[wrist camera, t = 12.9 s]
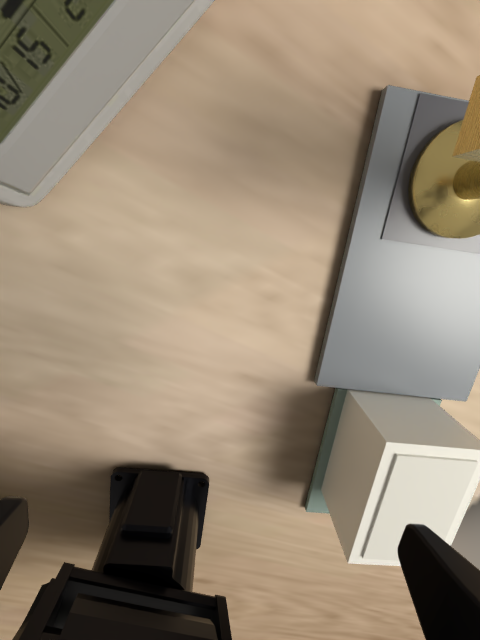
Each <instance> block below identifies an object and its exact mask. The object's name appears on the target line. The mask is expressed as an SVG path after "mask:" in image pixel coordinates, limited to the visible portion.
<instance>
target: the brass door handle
mask: <svg viewBox="0 0 480 640" xmlns="http://www.w3.org/2000/svg"><path fill="white" fill-rule="evenodd" d="M408 196H409V203H410V207H411V210H412V212H413V215H414V217H415V218H416V220H417V221H418V223H419V224H420V225H421V226H422V227H423V228H424V229H425V230H427V231H428V232H430V233H432V234H434V235H436V236H439V237H444V238H456V239H460V238H469V237H473V236H476V235H479V234H480V75H479V76H477V78H476V81H475V84H474V87H473V90H472V94H471V97H470V100H469V103H468V107H467V110H466V113H465V116H464V120H461V121H459V122H457V123H454V124H452V125H450V126H448V127H446V128H444V129H443V130H441V131H440V132H438V133H437V134H436V135H435V136H434V137H432V138H431V140H430V141H429V142H428V143H427V144H426V145H425V146H424V148H423V149H422V150H421V152H420V154H419V155H418V157H417V159H416V161H415V163H414V165H413V168H412V171H411V175H410V179H409V187H408Z"/></svg>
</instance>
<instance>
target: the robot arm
mask: <svg viewBox="0 0 480 640" xmlns="http://www.w3.org/2000/svg"><path fill="white" fill-rule="evenodd" d="M118 475H121V477H120V476H118ZM201 481H203V482H204V483H201ZM208 488H209V477H208V476H207V475H205V474H198V473H185V472H172V471H160V470H147V469H134V468H121V467H120V468H116V469H115V470H114V471H113V473H112V475H111V487H110V522H109V526H108V529H107V531H106V534H105V536H104V539H103V542H102V544H101V547H100V549H99V552H98V555H97V557H96V560H95V562H94V565H93V568H92V570H87V569H82V568H78V567H74V566H75V564H70V563H65V562H64V564H63V566H62V567H61V569H60V571H59V573H58V575H57V577H56V579H54V578H52V579H51V581H50V582H49V583H47V584H44V585H42V587H41V589H40V591H39V593H38V595H37V597H36V599H35V600H34V602H33V604H32V606H31V608H30V610H29V612H28V614H27V616H26V618H25V620H24V622H23V623H22V625H21V627H20V629H19V630H18V632H17V633H16V635H15V636H14V638H13V640H232V637H231V630H230V623H229V617H228V610H227V603H226V597H224V596H220V595H215V597H214V596H209V595H205V594H200V593H195V592H192V589H193V578H194V566H195V555H196V549H198V548H199V547H200V545H201V538H202V531H203V524H204V517H205V510H206V503H207V496H208ZM28 527H29V520H28V505H27V500H26V498H24V497H13V496H7V497H4V498H2V499H1V500H0V590H1V588H2V585H3V583H4V581H5V579H6V577H7V575H8V573H9V571H10V569H11V567H12V565H13V562H14V560H15V558H16V556H17V554H18V552H19V550H20V548H21V546H22V544H23V542H24V539H25V537H26V535H27V532H28ZM397 551H398V558H399V562H400V565H401V568H402V571H403V574H404V577H405V580H406V583H407V586H408V589H409V592H410V595H411V598H412V601H413V604H414V607H415V610H416V613H417V616H418V619H419V622H420V625H421V627H422V630H423V633H424V636H425V638H426V640H480V570H479V569H477V568H476V567H475V566H474V565H473V564H471V563H470V562H469V561H468V560H467V559H466V558H464V557H463V556H462V555H461V554H459V553H458V552H457V551H456V550H454V548H452V547H451V546H450V545H449V544H448V543H446V542H445V541H444V540H443V539H442V538H440V537H439V536H438V535H437V534H436V533H435V532H433V531H432V530H431V529H430V528H428V527H427V526H425V525H423V524H412V523H410V524H408V525H406V527H405V529H404V532H403V534H402V537H401V540H400V542H399V545H398V550H397Z"/></svg>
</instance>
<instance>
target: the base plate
mask: <svg viewBox="0 0 480 640" xmlns="http://www.w3.org/2000/svg"><path fill="white" fill-rule="evenodd" d="M468 103H469V101H467V100H462V99H456V98H451V97H446V96H441V95H436V94H431V93H426V92H421V91H416V90H411V89H406V88H400V87H395V86H390V85H388V86H386V87H385V88H384V89H383V90H382V92H381V97H380V101H379V105H378V109H377V114H376V118H375V122H374V127H373V131H372V135H371V139H370V144H369V148H368V152H367V156H366V161H365V165H364V169H363V174H362V178H361V182H360V186H359V191H358V195H357V199H356V204H355V208H354V212H353V216H352V221H351V225H350V229H349V233H348V238H347V242H346V246H345V251H344V255H343V259H342V263H341V268H340V272H339V276H338V281H337V285H336V289H335V293H334V298H333V302H332V306H331V311H330V315H329V319H328V323H327V328H326V332H325V336H324V340H323V345H322V349H321V353H320V358H319V362H318V366H317V370H316V375H315V379H314V382H315V383H316V385H317V386H325V387H335V388H344V389H353V390H363V391H372V392H382V393H391V394H400V395H410V396H419V397H429V398H438V399H447V400H457V401H467V399H468V396H469V394H470V391H471V389H472V386H473V384H474V381H475V378H476V376H477V373H478V371H479V368H480V234H479V235H476V236H473V237H469V238H460V239H456V238H444V237H439V236H436V235H434V234H432V233H430V232H428V231H427V230H425V229H424V228H423V227H422V226H421V225H420V224H419V223H418V221H417V220H416V218H415V217H414V215H413V212H412V210H411V207H410V203H409V196H408V187H409V179H410V175H411V171H412V168H413V165H414V163H415V161H416V159H417V157H418V155H419V154H420V152H421V150H422V149H423V148H424V146H425V145H426V144H427V143H428V142H429V141H430V140H431V138H432V137H434V136H435V135H436V134H437V133H438V132H440V131H441V130H443V129H444V128H446V127H448V126H450V125H452V124H454V123H457V122H459V121H461V120H464V116H465V113H466V110H467V107H468Z"/></svg>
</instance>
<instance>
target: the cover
mask: <svg viewBox="0 0 480 640" xmlns="http://www.w3.org/2000/svg"><path fill="white" fill-rule="evenodd" d="M479 481H480V440H479V439H478V438H476V437H475V436H474V435H473V434H472V433H471V432H469V431H468V430H467V429H466V428H465V427H463V426H462V425H461V424H460V423H459V422H458V421H456V420H455V419H454V418H453V417H452V416H450V415H449V414H448V413H447V412H446V411H445V410H443V409H442V408H441V407H440V406H439V405H438V404H436V403H435V402H434V401H433V400H432V399H430V398H429V397H419V396H410V395H400V394H390V393H380V392H370V391H360V390H350V389H347V393H346V397H345V401H344V405H343V408H342V412H341V416H340V420H339V424H338V427H337V431H336V435H335V439H334V443H333V446H332V450H331V454H330V458H329V462H328V465H327V469H326V473H325V477H324V481H323V484H322V488H321V491H322V494H323V496H324V499H325V502H326V505H327V507H328V510H329V513H330V516H331V518H332V521H333V524H334V527H335V529H336V532H337V535H338V538H339V540H340V543H341V546H342V549H343V551H344V554H345V557H346V560H347V562H348V563H352V564H372V565H391V566H401V565H400V562H399V558H398V551H397V550H398V545H399V542H400V540H401V537H402V534H403V532H404V529H405V527H406V525H408V524H410V523H412V524H423V525H425V526H427V527H428V528H430V529H431V530H432V531H433V532H435V533H436V534H437V535H438V536H439V537H440V538H442V539H443V540H444V541H445V542H446V543H448V544H449V545H450V546H451V544H452V542H453V540H454V537H455V535H456V533H457V530H458V528H459V526H460V524H461V521H462V519H463V517H464V515H465V512H466V510H467V508H468V506H469V503H470V501H471V499H472V496H473V494H474V492H475V490H476V487H477V485H478V483H479Z"/></svg>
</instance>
